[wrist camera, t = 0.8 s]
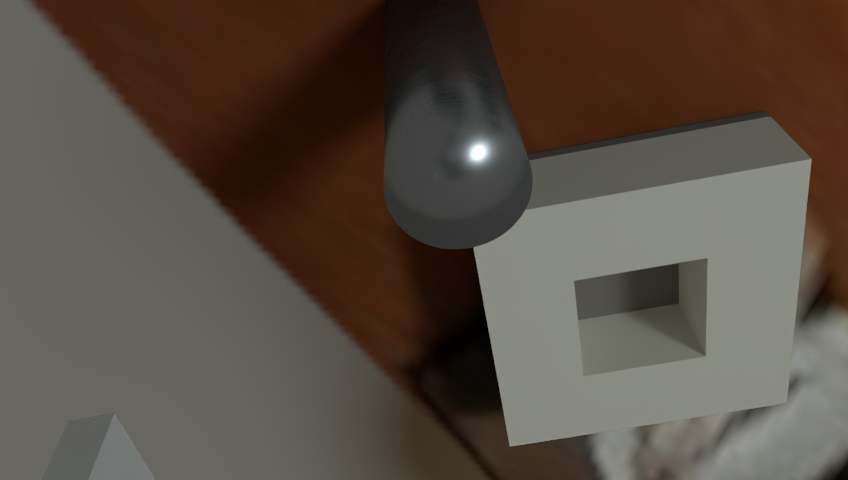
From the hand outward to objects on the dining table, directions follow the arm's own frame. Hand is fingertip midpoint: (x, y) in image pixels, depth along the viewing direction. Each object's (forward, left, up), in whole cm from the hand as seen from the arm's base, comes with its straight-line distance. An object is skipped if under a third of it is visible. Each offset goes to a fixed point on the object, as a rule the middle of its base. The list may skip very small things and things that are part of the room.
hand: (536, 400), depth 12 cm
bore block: (+12, +5, -19) cm, 23 cm away
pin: (0, -1, -19) cm, 19 cm away
